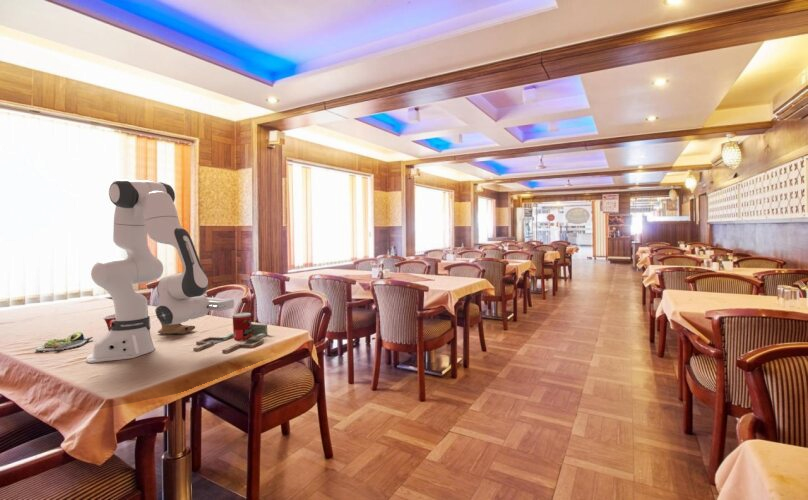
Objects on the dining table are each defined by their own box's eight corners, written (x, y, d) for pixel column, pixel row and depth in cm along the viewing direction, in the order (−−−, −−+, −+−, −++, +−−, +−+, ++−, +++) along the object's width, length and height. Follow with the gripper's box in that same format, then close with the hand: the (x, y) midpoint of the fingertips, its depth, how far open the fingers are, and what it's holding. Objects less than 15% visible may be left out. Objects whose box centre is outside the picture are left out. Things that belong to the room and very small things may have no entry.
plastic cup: (114, 337, 188) (112, 312, 187) (138, 336, 189) (136, 311, 188) (98, 343, 177) (96, 317, 177) (124, 342, 178) (122, 316, 177)
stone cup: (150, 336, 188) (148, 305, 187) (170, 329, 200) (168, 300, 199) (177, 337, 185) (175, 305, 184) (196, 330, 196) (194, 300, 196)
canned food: (246, 340, 176) (245, 316, 176) (230, 340, 177) (228, 316, 177) (255, 336, 184) (254, 312, 183) (239, 335, 185) (238, 312, 184)
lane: (239, 354, 157) (238, 341, 157) (181, 350, 164) (180, 338, 164) (278, 335, 184) (278, 324, 183) (227, 332, 191) (227, 322, 191)
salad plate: (80, 350, 168) (79, 339, 168) (26, 356, 162) (25, 345, 161) (95, 339, 186) (95, 329, 186) (47, 344, 180) (46, 334, 179)
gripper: (219, 299, 152) (243, 293, 165) (176, 296, 157) (202, 291, 171) (220, 315, 153) (243, 308, 166) (176, 312, 158) (202, 305, 171)
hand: (222, 299), depth 168 cm, fingers closed
